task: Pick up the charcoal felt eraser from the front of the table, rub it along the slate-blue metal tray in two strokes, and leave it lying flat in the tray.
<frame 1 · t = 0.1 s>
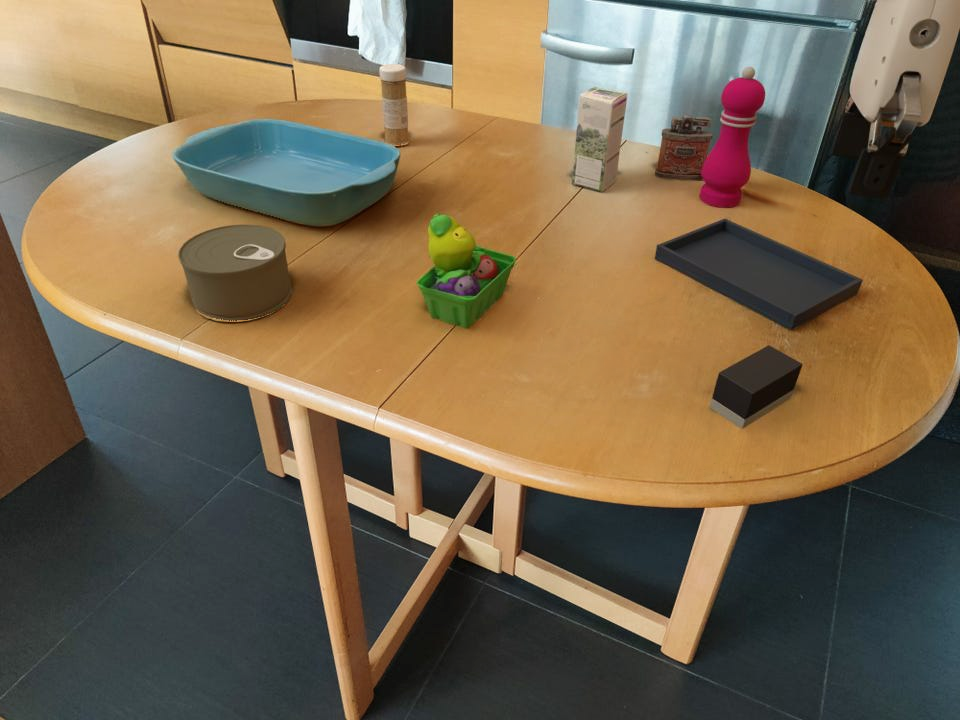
hand: (857, 174, 67), 21 cm above the table, tool pointing down, fingers open, 9 cm apart
can: (243, 298, 88), on the table
casserole dish: (293, 195, 112), on the table
lighter: (678, 177, 120), on the table
eraser: (750, 403, 72), on the table
tray: (752, 275, 93), on the table
sprinkles bottle: (396, 144, 131), on the table
fruit basket: (463, 306, 87), on the table
syrup box: (593, 184, 117), on the table
pepper mill: (719, 200, 113), on the table
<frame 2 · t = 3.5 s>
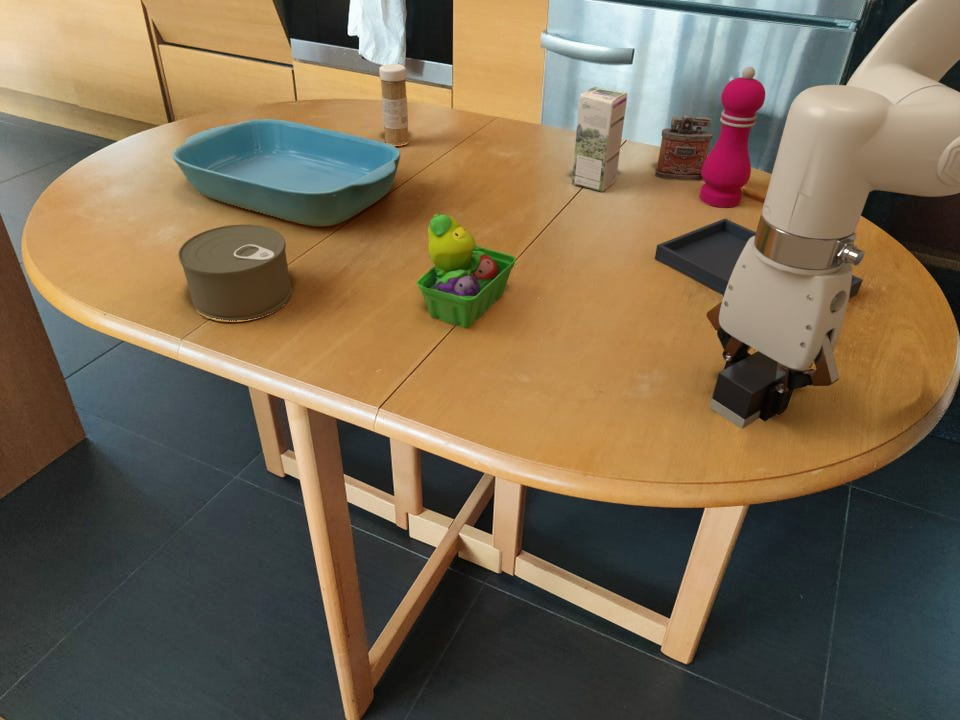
hand: (751, 400, 72), 0 cm above the table, tool pointing down, fingers closed on eraser, 4 cm apart
eraser: (750, 403, 72), on the table, touching gripper
everything else where it was.
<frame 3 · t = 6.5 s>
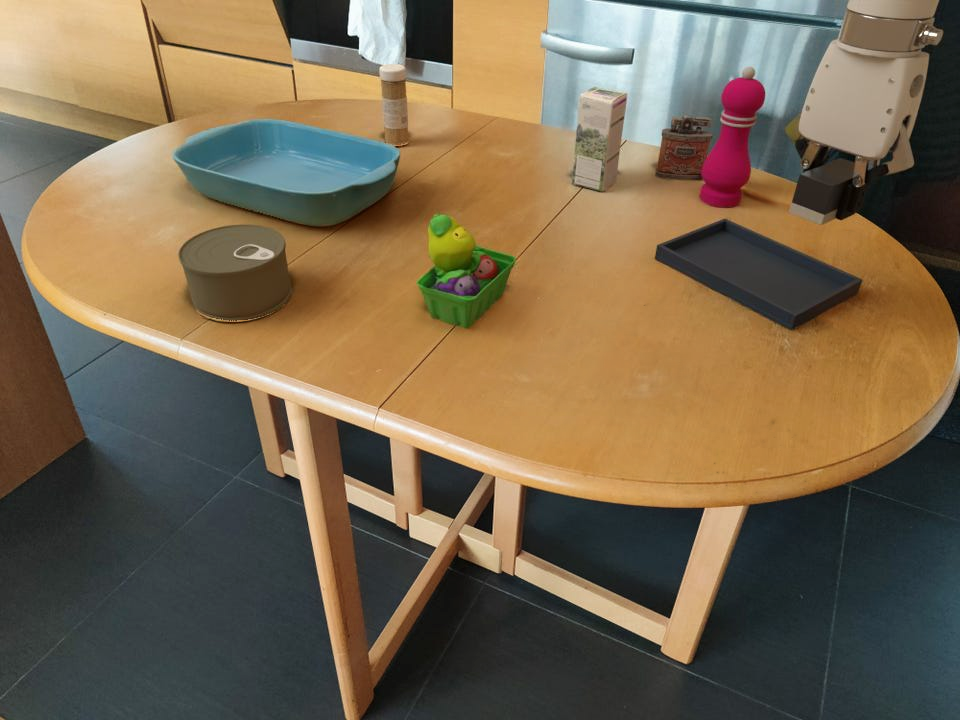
hand: (825, 207, 80), 13 cm above the table, tool pointing down, fingers closed on eraser, 4 cm apart
eraser: (824, 209, 80), point 13 cm above the table, touching gripper
everything else where it was.
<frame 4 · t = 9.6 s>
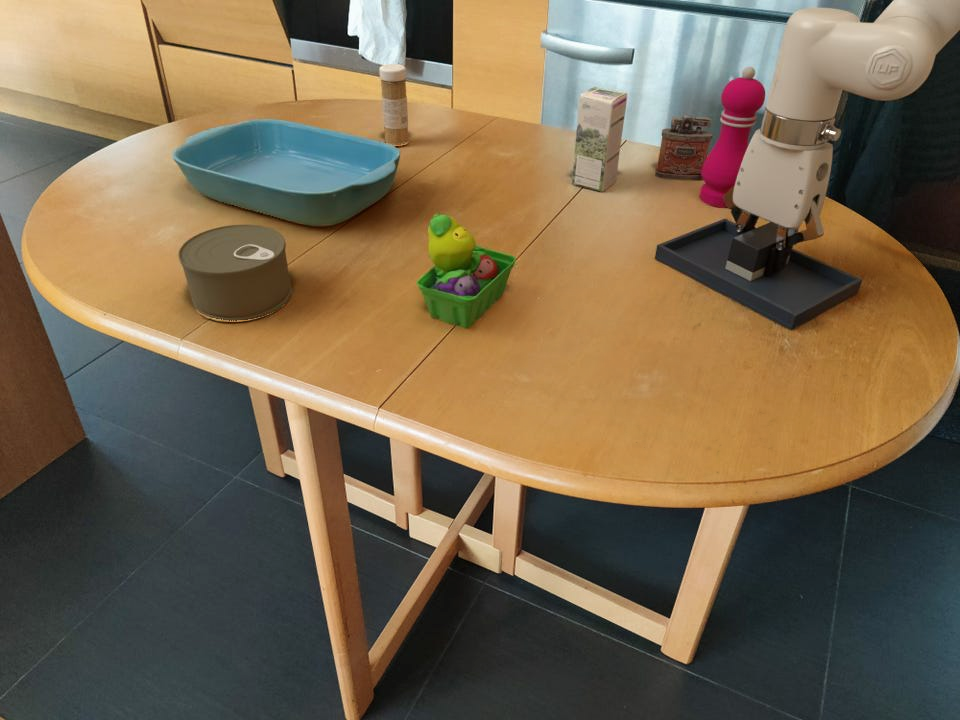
hand: (757, 264, 94), 1 cm above the table, tool pointing down, fingers closed on eraser, 4 cm apart
eraser: (756, 266, 94), point 1 cm above the table, touching gripper
everything else where it was.
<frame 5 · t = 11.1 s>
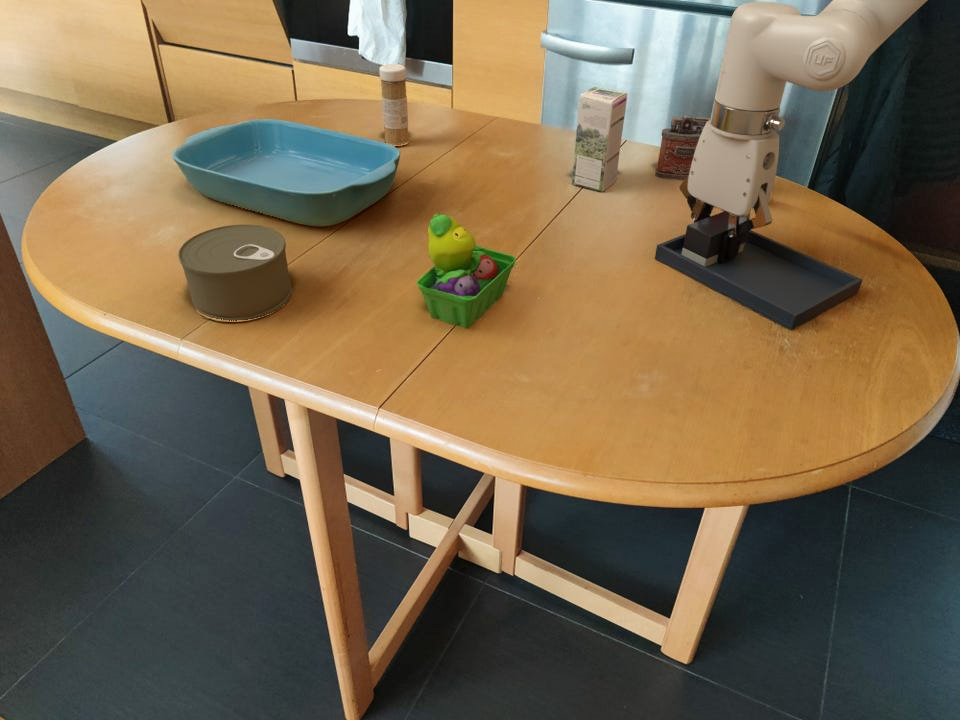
hand: (712, 251, 97), 1 cm above the table, tool pointing down, fingers closed on eraser, 4 cm apart
eraser: (712, 253, 97), point 1 cm above the table, touching gripper
everything else where it was.
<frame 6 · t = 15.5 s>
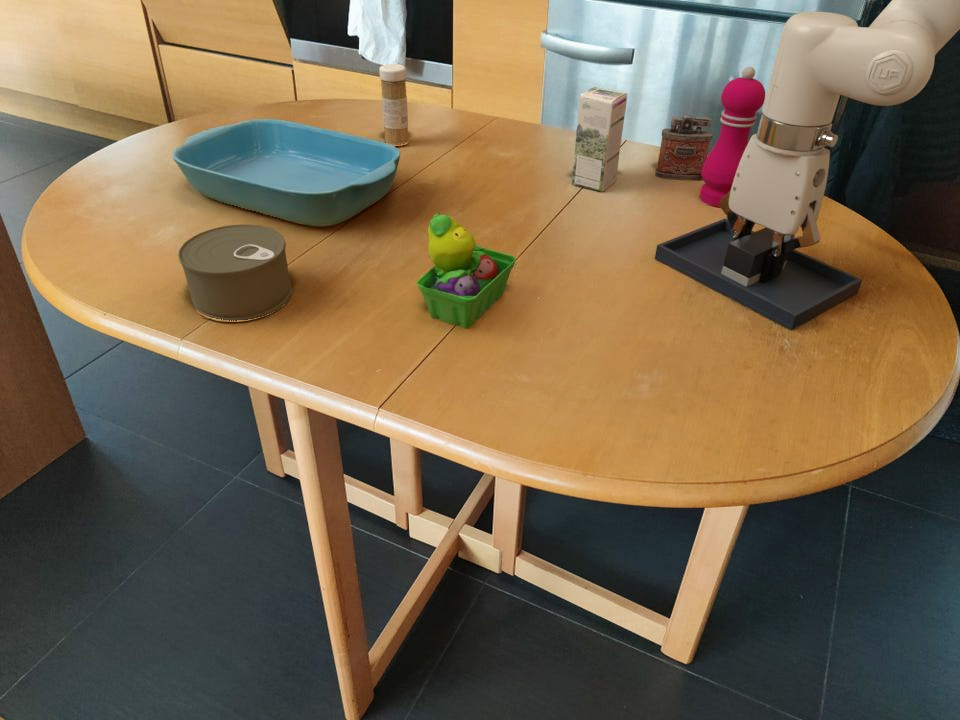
hand: (753, 270, 93), 1 cm above the table, tool pointing down, fingers closed on eraser, 4 cm apart
eraser: (752, 271, 93), point 1 cm above the table, touching gripper, tray
everything else where it was.
when the fingers open (1 cm above the table, at t = 15.8 s): eraser stays where it is, resting on tray.
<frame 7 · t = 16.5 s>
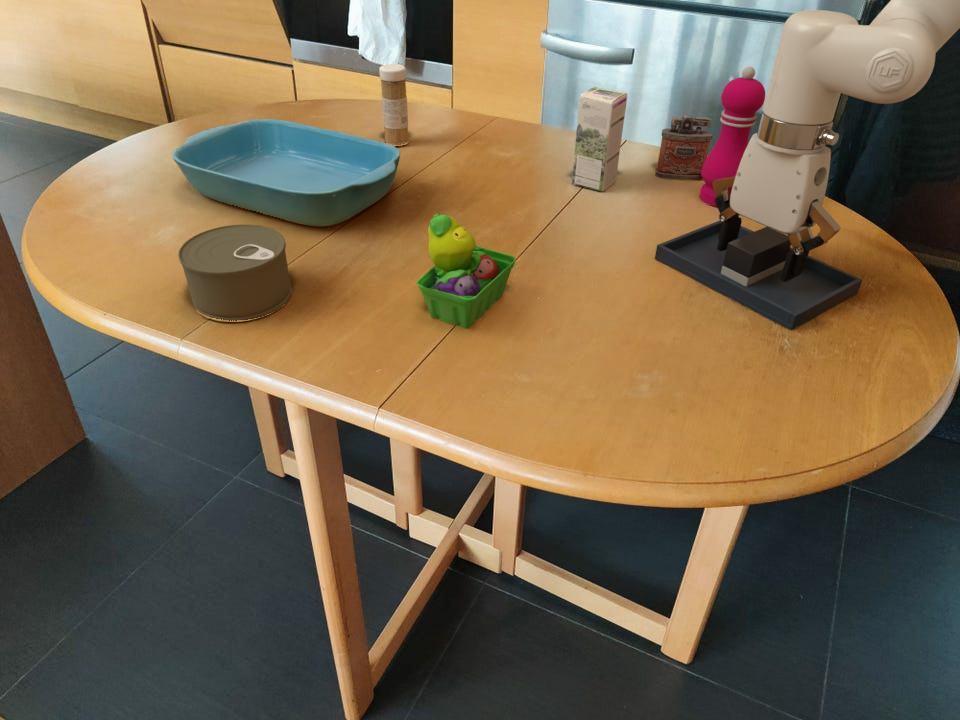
hand: (756, 262, 92), 2 cm above the table, tool pointing down, fingers open, 9 cm apart
eraser: (752, 271, 93), point 1 cm above the table, touching tray
everything else where it was.
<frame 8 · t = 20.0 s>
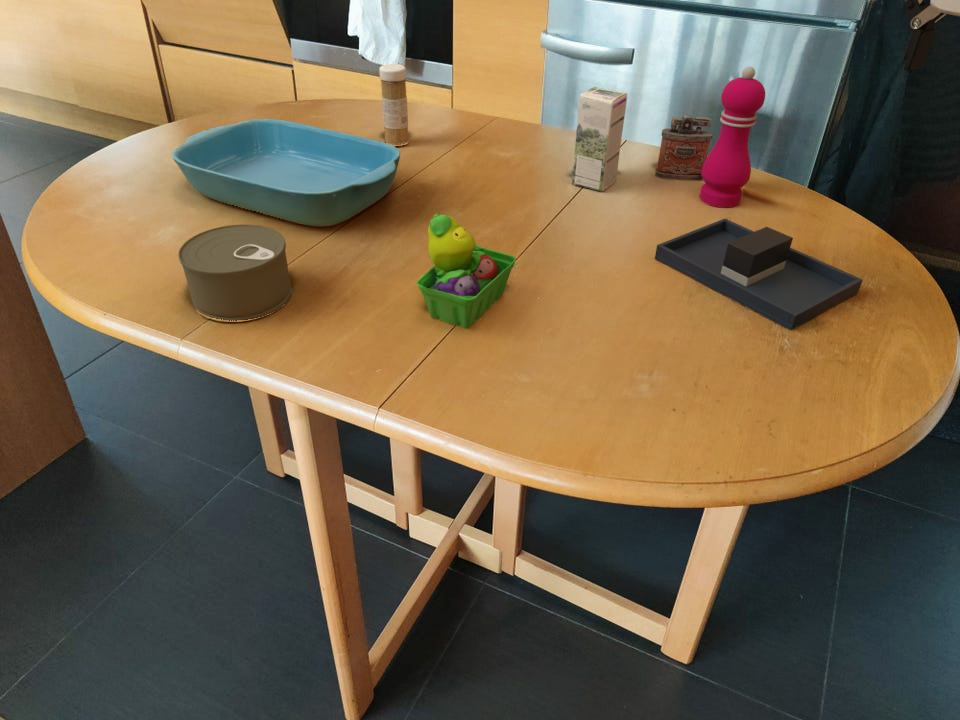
hand: (959, 79, 74), 26 cm above the table, tool pointing down, fingers open, 9 cm apart
nothing on the table moved.
at the end: eraser inside the target area in the tray (0.2 cm from its centre), point 0.6 cm above the tray's base; eraser tilted 0°; the gripper is holding nothing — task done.
